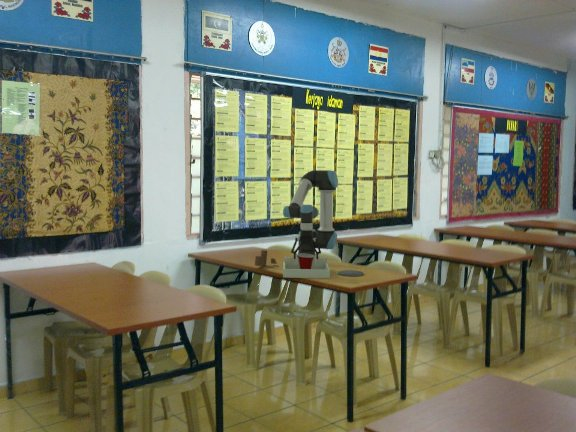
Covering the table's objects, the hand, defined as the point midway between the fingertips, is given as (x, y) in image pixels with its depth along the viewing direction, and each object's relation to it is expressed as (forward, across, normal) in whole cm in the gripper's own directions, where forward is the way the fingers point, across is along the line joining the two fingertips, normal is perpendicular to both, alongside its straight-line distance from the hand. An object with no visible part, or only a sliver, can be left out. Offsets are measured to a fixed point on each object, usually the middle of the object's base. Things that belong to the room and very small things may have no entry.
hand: (305, 264), depth 375 cm
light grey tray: (+6, 0, 0) cm, 6 cm away
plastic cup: (+6, 0, 0) cm, 6 cm away
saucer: (+6, +28, 0) cm, 29 cm away
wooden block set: (+6, -27, +24) cm, 37 cm away
